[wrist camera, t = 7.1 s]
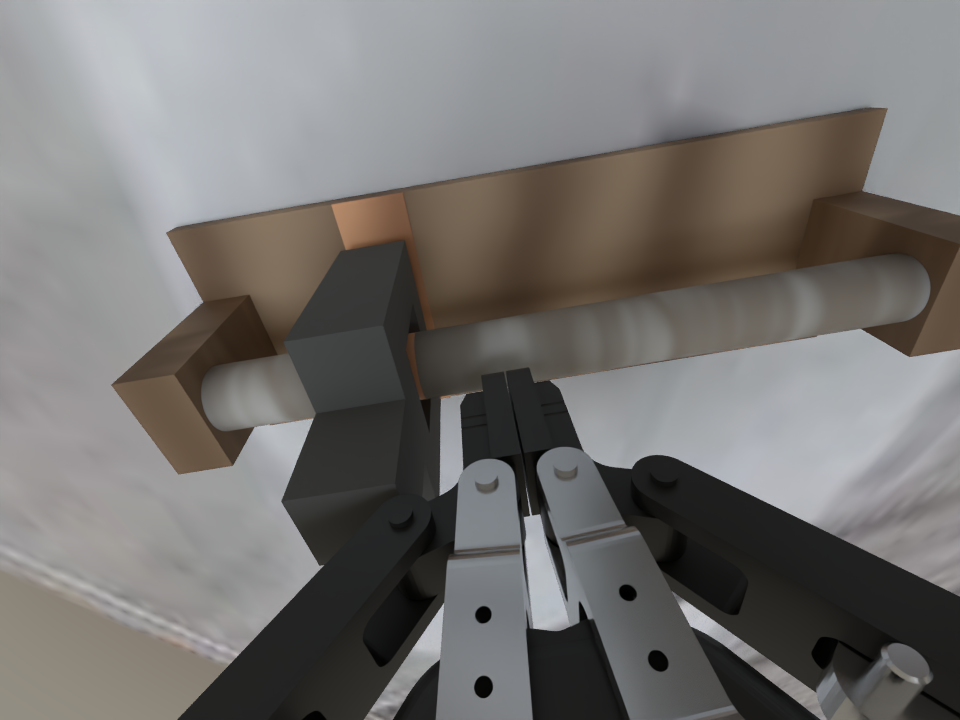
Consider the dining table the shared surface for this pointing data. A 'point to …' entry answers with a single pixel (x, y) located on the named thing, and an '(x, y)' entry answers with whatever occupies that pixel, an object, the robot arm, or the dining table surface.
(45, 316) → the dining table surface
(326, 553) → the collar
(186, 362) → the rail
